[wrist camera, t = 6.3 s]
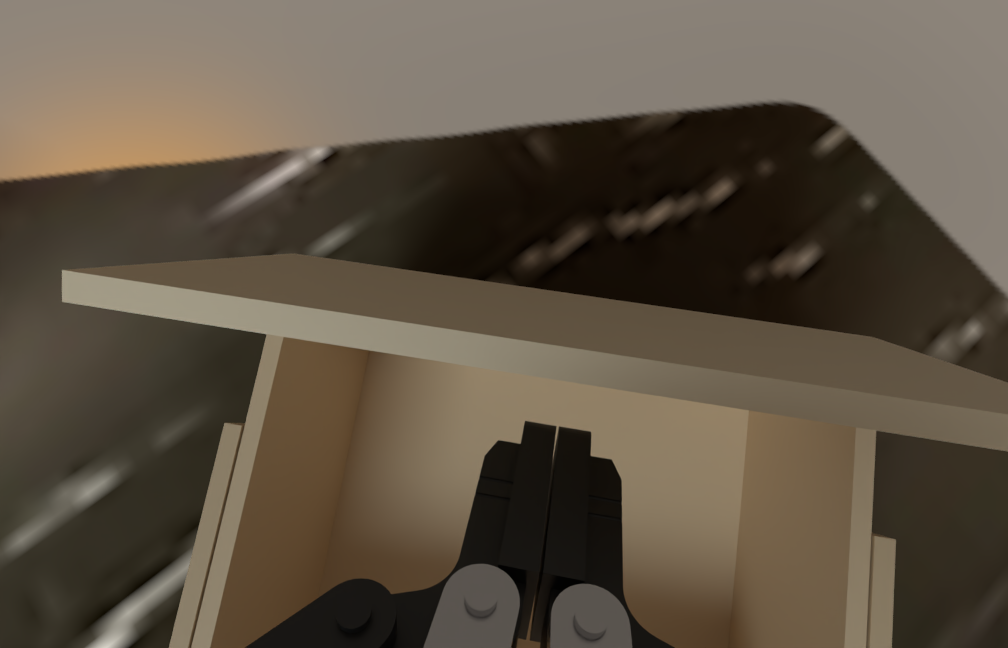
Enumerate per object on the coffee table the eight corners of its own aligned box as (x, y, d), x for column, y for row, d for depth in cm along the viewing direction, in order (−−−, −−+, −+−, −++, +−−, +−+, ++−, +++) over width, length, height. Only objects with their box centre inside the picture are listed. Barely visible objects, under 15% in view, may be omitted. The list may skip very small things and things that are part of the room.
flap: (62, 302, 11) (62, 269, 11) (292, 271, 19) (293, 253, 19) (1164, 476, 9) (1178, 440, 9) (868, 355, 18) (873, 336, 18)
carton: (268, 725, 26) (105, 902, 16) (352, 333, 30) (259, 284, 20) (737, 829, 24) (874, 1102, 14) (772, 399, 28) (902, 381, 18)
